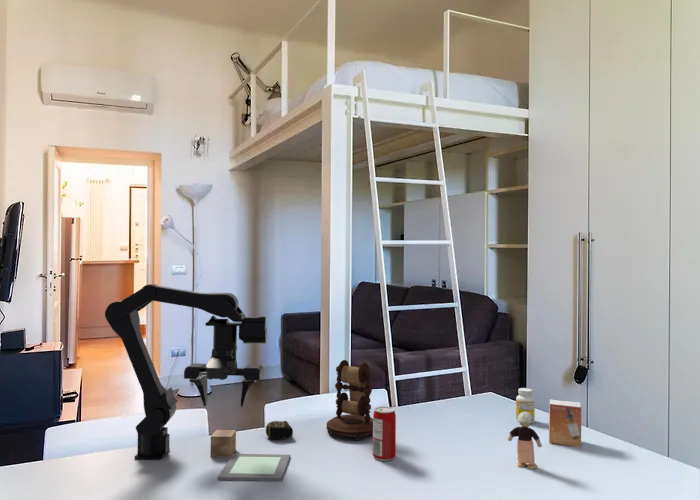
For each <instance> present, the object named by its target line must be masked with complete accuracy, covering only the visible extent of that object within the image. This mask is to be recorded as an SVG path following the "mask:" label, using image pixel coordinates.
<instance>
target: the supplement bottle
mask: <svg viewBox="0 0 700 500" xmlns="http://www.w3.org/2000/svg"><path fill="white" fill-rule="evenodd" d="M517 392H518V395H517V396H516V398H515V420H516V421H517V420H518V419H517V418H518V416H519V414H520V413H522V412H529V413H530V414H531V417H532V420H531V423H532V424H534V423H535V422H536V421H535V420H536V418H535V417H536V416H535V415H536V413H535V411H536V409H535V408H536V407H535V405H536V404H535V402H536V401H535V397H534V396H533V389H531V388H528V387H520V388H518V391H517Z"/></svg>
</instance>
